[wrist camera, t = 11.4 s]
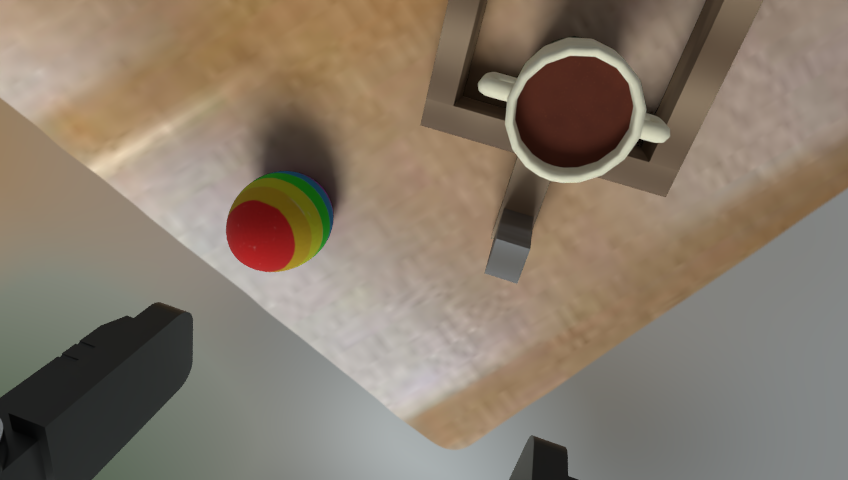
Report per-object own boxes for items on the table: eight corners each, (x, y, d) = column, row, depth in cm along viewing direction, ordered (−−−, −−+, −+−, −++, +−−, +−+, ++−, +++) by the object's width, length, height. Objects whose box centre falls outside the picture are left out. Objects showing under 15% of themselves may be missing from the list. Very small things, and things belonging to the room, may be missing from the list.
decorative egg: (355, 238, 48) (308, 292, 39) (280, 247, 50) (221, 301, 41) (328, 154, 44) (272, 192, 36) (250, 169, 47) (180, 208, 38)
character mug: (484, 108, 40) (454, 153, 28) (511, 11, 36) (490, 18, 25) (622, 147, 38) (649, 210, 27) (663, 51, 35) (713, 76, 24)
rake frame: (492, -143, 33) (477, -175, 26) (777, -77, 31) (832, -96, 25) (410, 207, 45) (386, 241, 38) (612, 271, 43) (620, 317, 36)
